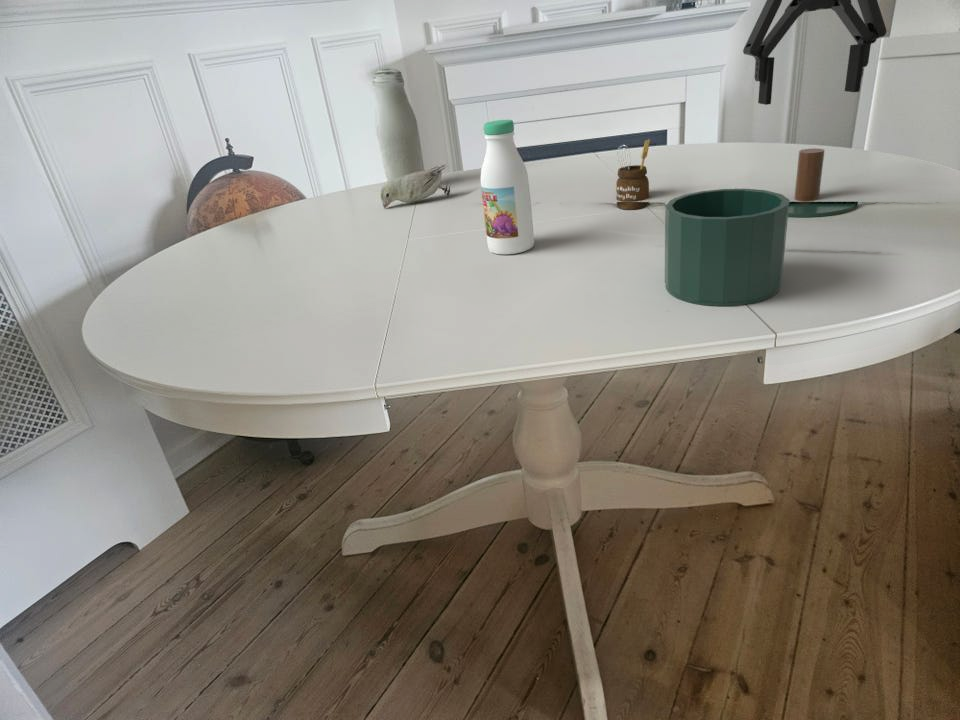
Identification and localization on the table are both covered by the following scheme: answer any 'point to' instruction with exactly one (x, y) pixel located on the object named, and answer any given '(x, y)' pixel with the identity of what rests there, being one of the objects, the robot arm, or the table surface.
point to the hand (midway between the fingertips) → (808, 97)
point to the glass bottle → (396, 126)
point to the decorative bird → (413, 186)
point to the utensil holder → (633, 183)
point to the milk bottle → (505, 192)
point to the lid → (813, 188)
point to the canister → (725, 246)
